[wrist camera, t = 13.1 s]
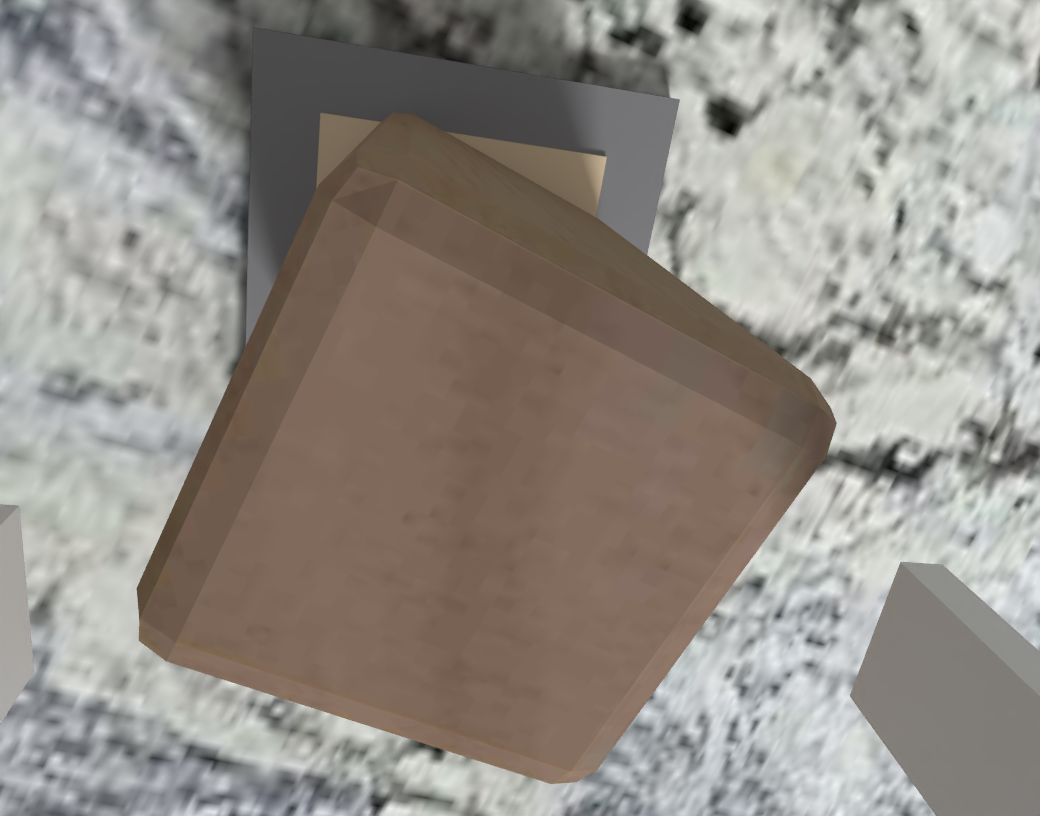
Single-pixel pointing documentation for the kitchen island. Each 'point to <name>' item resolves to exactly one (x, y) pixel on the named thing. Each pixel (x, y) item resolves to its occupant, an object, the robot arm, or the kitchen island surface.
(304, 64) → the board
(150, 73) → the kitchen island surface
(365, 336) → the wooden block
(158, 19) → the kitchen island surface
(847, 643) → the kitchen island surface
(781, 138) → the kitchen island surface
